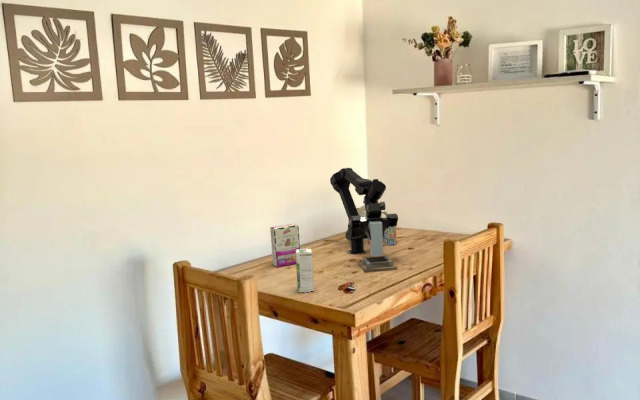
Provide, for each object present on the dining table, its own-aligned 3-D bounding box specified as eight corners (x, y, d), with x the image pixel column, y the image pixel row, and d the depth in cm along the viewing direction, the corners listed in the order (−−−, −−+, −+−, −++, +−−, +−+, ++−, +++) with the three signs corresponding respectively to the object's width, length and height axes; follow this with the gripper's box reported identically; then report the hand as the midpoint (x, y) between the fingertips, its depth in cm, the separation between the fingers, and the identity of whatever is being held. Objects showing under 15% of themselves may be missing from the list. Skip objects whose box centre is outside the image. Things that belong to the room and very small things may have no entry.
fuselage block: (370, 253, 234) (369, 221, 232) (381, 252, 234) (380, 220, 232) (371, 256, 230) (370, 223, 228) (383, 255, 230) (382, 223, 228)
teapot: (351, 235, 293) (350, 203, 291) (357, 229, 306) (356, 199, 304) (387, 235, 288) (386, 203, 286) (392, 230, 301) (390, 198, 298)
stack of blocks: (397, 242, 273) (396, 216, 271) (394, 245, 267) (393, 219, 265) (352, 241, 280) (351, 216, 278) (349, 244, 274) (348, 218, 272)
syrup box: (297, 288, 210) (294, 249, 208) (313, 287, 211) (311, 247, 208) (297, 293, 205) (295, 252, 202) (314, 291, 205) (312, 251, 203)
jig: (358, 264, 238) (357, 257, 238) (389, 261, 240) (389, 254, 240) (364, 272, 226) (364, 265, 225) (397, 269, 227) (397, 262, 227)
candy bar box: (296, 260, 249) (294, 223, 247) (301, 263, 245) (299, 224, 242) (272, 265, 244) (269, 226, 242) (276, 267, 240) (274, 228, 237)
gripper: (349, 196, 232) (353, 229, 223) (396, 193, 233) (402, 226, 224) (348, 212, 241) (352, 244, 232) (393, 209, 242) (399, 241, 233)
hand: (376, 238), depth 230 cm, fingers closed on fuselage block, 4 cm apart
